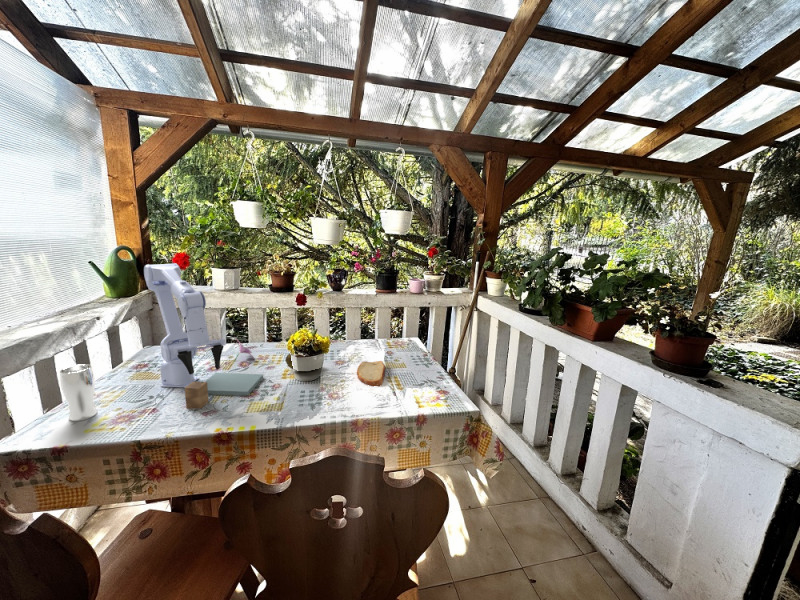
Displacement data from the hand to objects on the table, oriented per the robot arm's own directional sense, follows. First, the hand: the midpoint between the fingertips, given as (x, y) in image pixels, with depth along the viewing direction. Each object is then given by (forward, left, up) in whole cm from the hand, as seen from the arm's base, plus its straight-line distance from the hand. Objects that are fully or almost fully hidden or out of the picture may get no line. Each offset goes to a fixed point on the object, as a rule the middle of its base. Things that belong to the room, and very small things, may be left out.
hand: (205, 371), depth 107 cm
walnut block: (-2, -2, -11) cm, 11 cm away
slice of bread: (+53, +26, -12) cm, 60 cm away
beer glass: (-31, -10, -11) cm, 35 cm away
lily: (-4, +37, -11) cm, 39 cm away
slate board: (+2, +12, -11) cm, 17 cm away
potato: (+24, +27, -11) cm, 38 cm away
